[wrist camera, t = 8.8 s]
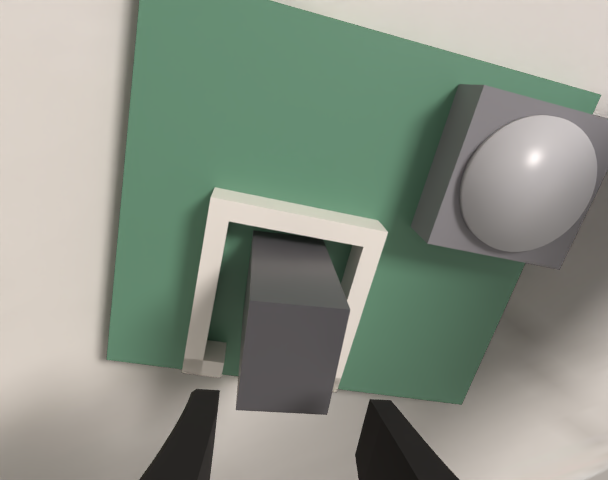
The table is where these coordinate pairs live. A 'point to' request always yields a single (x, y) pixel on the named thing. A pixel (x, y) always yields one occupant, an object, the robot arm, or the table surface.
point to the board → (339, 188)
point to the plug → (290, 326)
